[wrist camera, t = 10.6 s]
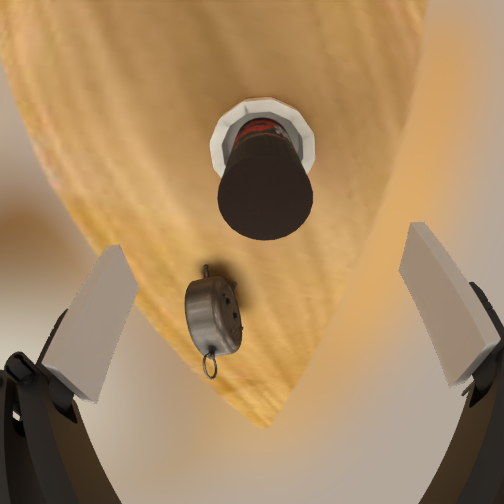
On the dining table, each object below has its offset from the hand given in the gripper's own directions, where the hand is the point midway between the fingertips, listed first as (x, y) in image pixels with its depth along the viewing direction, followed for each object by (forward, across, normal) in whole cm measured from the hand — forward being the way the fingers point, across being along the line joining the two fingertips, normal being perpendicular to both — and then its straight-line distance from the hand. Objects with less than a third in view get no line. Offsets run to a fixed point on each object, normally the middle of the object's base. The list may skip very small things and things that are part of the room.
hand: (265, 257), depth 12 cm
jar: (+22, 0, -1) cm, 22 cm away
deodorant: (+21, 0, -1) cm, 21 cm away
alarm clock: (+22, -8, -22) cm, 32 cm away
